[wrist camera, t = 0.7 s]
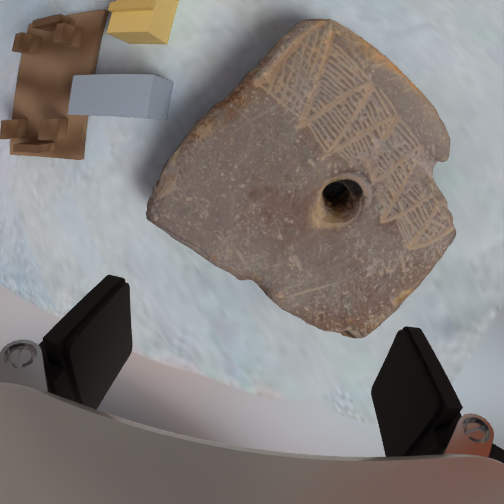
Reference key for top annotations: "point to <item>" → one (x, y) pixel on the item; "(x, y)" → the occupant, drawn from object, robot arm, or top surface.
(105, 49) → the top surface
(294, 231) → the stone slab
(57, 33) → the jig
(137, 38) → the tan toy brick
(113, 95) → the grey rectangular block
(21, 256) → the top surface
